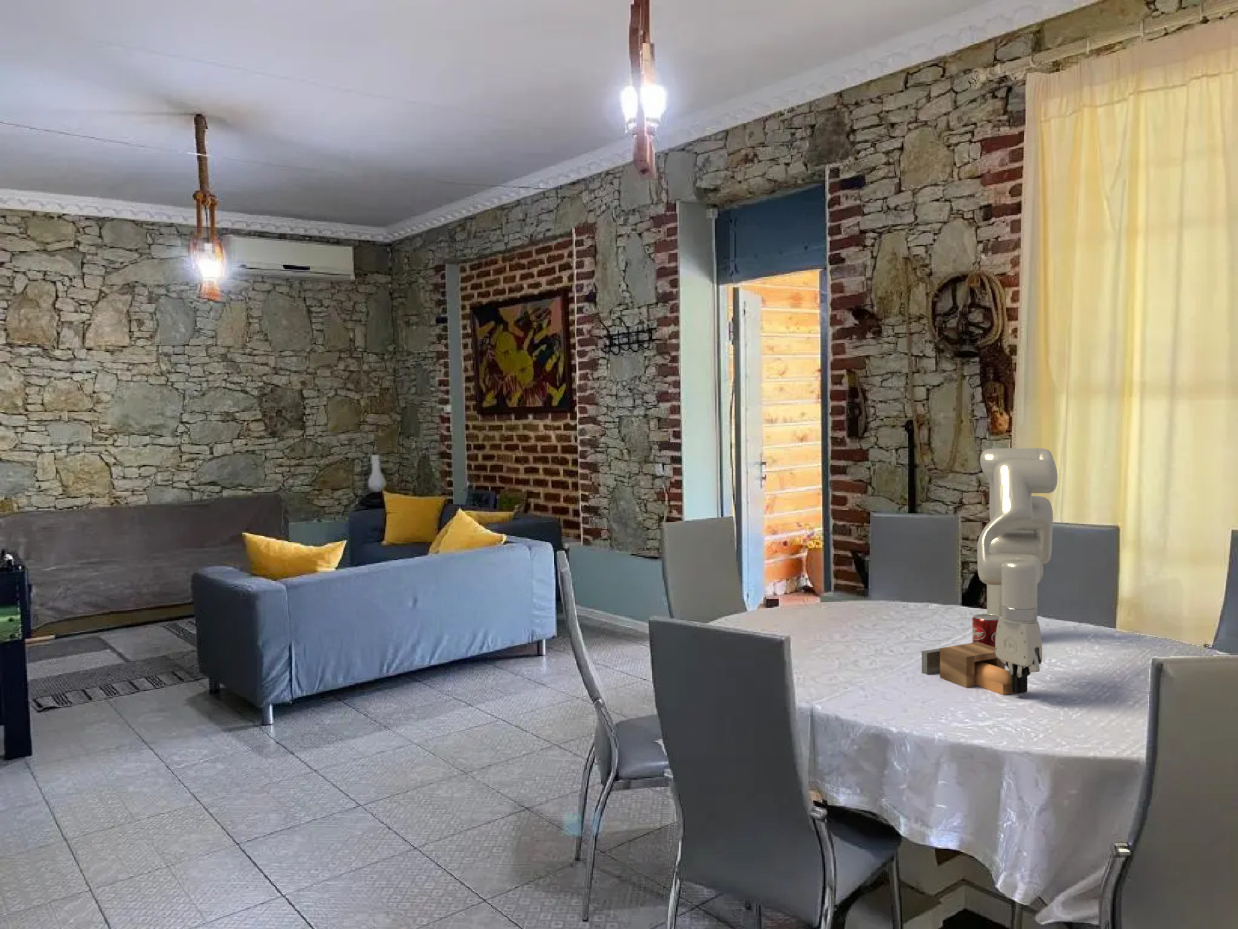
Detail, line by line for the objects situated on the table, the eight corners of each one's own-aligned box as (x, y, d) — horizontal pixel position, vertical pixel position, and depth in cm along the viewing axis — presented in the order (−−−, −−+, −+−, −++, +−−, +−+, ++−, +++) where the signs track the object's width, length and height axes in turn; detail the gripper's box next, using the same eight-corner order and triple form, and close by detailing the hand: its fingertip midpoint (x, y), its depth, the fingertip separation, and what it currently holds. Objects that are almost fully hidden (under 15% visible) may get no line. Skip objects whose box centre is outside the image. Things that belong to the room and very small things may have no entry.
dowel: (965, 681, 224) (965, 660, 223) (982, 678, 225) (981, 658, 225) (1002, 695, 212) (1002, 674, 212) (1019, 692, 214) (1019, 671, 214)
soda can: (1001, 659, 241) (1001, 614, 240) (1003, 666, 234) (1003, 620, 233) (972, 657, 243) (971, 612, 242) (973, 664, 236) (972, 619, 236)
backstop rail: (965, 665, 237) (964, 644, 236) (970, 667, 235) (970, 646, 234) (921, 672, 231) (921, 651, 231) (927, 674, 229) (927, 653, 229)
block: (977, 671, 231) (977, 642, 231) (1004, 680, 223) (1004, 650, 222) (940, 677, 227) (939, 648, 226) (966, 687, 218) (966, 657, 218)
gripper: (982, 609, 215) (982, 685, 216) (1032, 622, 201) (1033, 704, 202) (1006, 605, 218) (1006, 681, 219) (1058, 618, 204) (1058, 699, 205)
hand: (1019, 692), depth 211 cm, fingers closed
